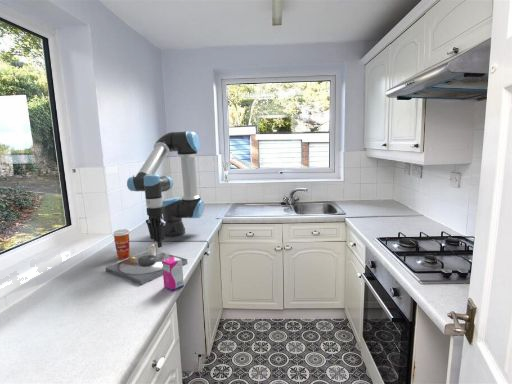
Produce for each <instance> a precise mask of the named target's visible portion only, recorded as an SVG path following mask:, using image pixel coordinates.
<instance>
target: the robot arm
mask: <svg viewBox="0 0 512 384" xmlns="http://www.w3.org/2000/svg"><path fill="white" fill-rule="evenodd" d="M200 147H201V143H200V138H199V136H198V134H197V133H196V132H195V131H171V132H167V133H166V134H165V133H164V134H163V135H162V136H161V137H159V138H158V140H156V142H155V143H154V145H153V149H152V151H151V153H150V155H148V157H147V159H146V160H145V162H144V163H143V164H142V166H141V168H140V169H139V170H138V172H137V174H136V175H135V176H130V177H128V179H127V181H126V187H127V188H128V190H129V191H130V192H144V196H145V207H146V215H147V216H148V219H146V220H145V223H146V226H147V228H148V233H149V237H150V239H151V240H153V244H154V243H155V249H156V254H160V253H163V250H162V247H163V245H162V243H163V241H164V240H165V239H166V238H165V237H177V236H182V235H184V234H185V233H186V228H185V225H184V222H183V219H199V218H201V217H202V216H203V214H204V212H205V211H204V210H205V201H204V200H203V199H201V196H200V195H199V192H198V181H197V178H198V177H197V167H196V166H197V164H196V156H197V154H198V151H200ZM171 152H176V153H177V156H179V157H180V167H181V168H180V169H181V176H182V177H181V179H182V187H183V196H182V197H179V196H178V197H170V198H166V199H164V200H163V195H162V193H163V192H167V191H169V190H171V189H172V188H173V186H174V182H173V179H172V177H170V176H169V175H168V176H167V175H161V176H160V174H158V173H157V174H156V172H157V171H158V169H159V168H160V166H161V164H162V163H163V161H164V158H166V156H168V155H169V154H170V153H171Z"/></svg>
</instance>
